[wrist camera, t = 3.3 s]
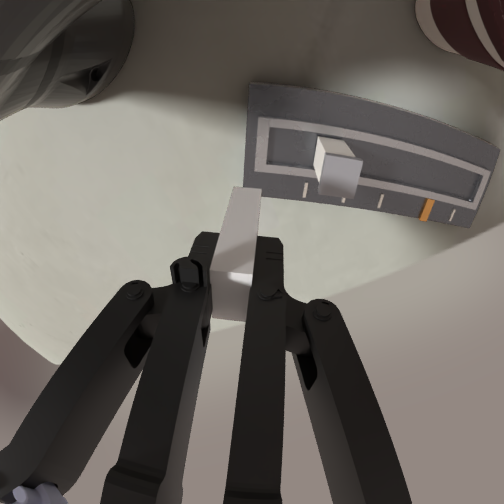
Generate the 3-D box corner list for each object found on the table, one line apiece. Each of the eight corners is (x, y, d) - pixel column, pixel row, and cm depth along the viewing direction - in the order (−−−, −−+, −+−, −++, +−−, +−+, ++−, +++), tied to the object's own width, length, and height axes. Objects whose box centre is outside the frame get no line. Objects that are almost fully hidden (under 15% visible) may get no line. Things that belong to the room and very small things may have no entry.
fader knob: (310, 166, 25) (318, 194, 21) (316, 133, 23) (326, 154, 19) (339, 170, 25) (353, 199, 21) (346, 138, 23) (363, 161, 18)
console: (244, 186, 29) (242, 198, 27) (251, 81, 22) (248, 84, 20) (462, 219, 29) (471, 231, 27) (490, 143, 22) (503, 151, 20)
